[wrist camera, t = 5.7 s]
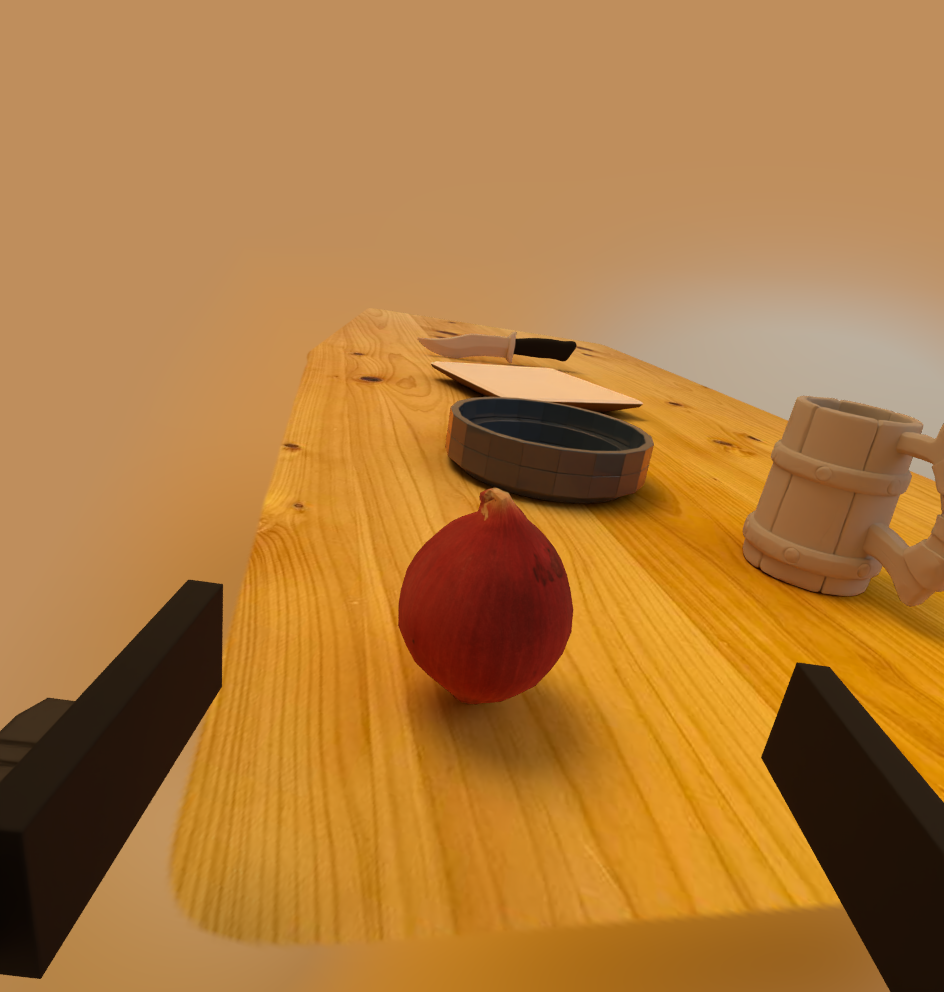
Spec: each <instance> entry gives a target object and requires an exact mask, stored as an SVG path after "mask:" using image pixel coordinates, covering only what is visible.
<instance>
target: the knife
mask: <svg viewBox="0 0 944 992" xmlns="http://www.w3.org/2000/svg"><path fill="white" fill-rule="evenodd" d="M516 334H517V332H512V333H511V334H510V335H509V337H504V336H493V335H482V334H465V335H461V336H456V337H451V338H439V339H429V338H417V339H418V340H419V342H420V343H421V344H422V345H423V346H424V347H426V348H427V349H429V350H430V351H432V352H434V353H437V354H439V355H442V356H445V357H450V358H463V357H471V356H494V357H504V358H506V360H507V361H508V362H509V363H512V357H513V354H517V355H524V356H530V357H537V358H551V359H556V360H560V361H566V360H567V359H568V358H569V357H570V355H571V354H572V352H573V351H574V350H575V348H576V343H575V342H573V341H559V340H553V339H541V338H524V339H516Z"/></svg>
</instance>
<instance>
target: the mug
mask: <svg viewBox="0 0 944 992" xmlns="http://www.w3.org/2000/svg"><path fill="white" fill-rule="evenodd" d="M922 429H923V424H922V423H921V422H920V421H919V420H917V419H915V418H912V417H909V416H907V415H904V414H900V413H895V412H893V411H889V410H885V409H881V408H877V407H873V406H869V405H865V404H861V403H856V402H851V401H845V400H841V401H838V400H837V399H834V398H820V397H811V396H800V397H798V398H797V400H796V402H795V405H794V408H793V410H792V413H791V416H790V418H789V421H788V424H787V426H786V429H785V432H784V434H783V437H782V439H781V440H779V441H778V442H776V443H775V446H774V449H773V451H772V454H771V458H772V460H773V465H772V467H771V470H770V473H769V475H768V478H767V481H766V484H765V486H764V489H763V492H762V495H761V497H760V500H759V503H758V505H757V508H756V511H753V512H752V513H750V514H749V515H748V516H747V518H746V521H745V523H744V527H743V535H744V537H745V541H744V544H743V554H744V556H745V558H746V559H747V560H748V561H749V562H750V563H751V564H752V565H753V566H755V567H757V568H761V570H762V571H764V572H765V573H767V574H769V575H771V576H773V577H775V578H777V579H780V580H782V581H784V582H787V583H789V584H792V585H795V586H797V587H800V588H803V589H806V590H810V591H813V592H818V591H819V590H820V591H821V592H822V593H823V594H830V595H839V596H854V595H858V594H860V593H862V592H864V591H865V590H866V588H867V586H868V584H869V581H870V579H871V578H872V577H874V576H876V575H878V574H879V572H880V571H881V568H882V566H883V567H884V568H885V569H886V570H887V572H888V573H889V575H890V576H891V578H892V580H893V583H894V586H895V588H896V591H897V593H898V596H899V599H900V601H901V602H903V603H904V604H905V605H907V606H910V607H912V606H916V605H919V604H922V603H923V602H924V601H925V600H926V599H927V598H929V597H930V596H931V595H932V594H933V593H934V592H941V591H944V424H943V425H942V427H941V429H940V431H939V434H938V436H937V438H936V439H934V438H932V437H929V436H927V435H922V434H921V432H922ZM913 457H916V458H919V459H922V460H924V461H927V462H930V463H932V464H933V466H932V469H933V472H934V475H935V481H936V487H937V490H938V492H939V493H940V494H941V510H942V514H941V515H937V519H936V523H935V525H934V527H933V529H932V532H931V533H932V534H931V535H930V536H929V538H928V539H924V540H922V541H921V542H919V543H918V544H916V545H914V546H911V547H909V546H908V545H907V544H906V543H905V542H904V540H903V539H902V538H901V537H900V536H899V535H898V534H897V533H896V532H894V531H893V530H892V529H890V528H889V524H890V521H891V519H892V516H893V513H894V510H895V507H896V504H897V501H898V498H899V496H900V494H903V493H904V492H905V491H906V490H907V488H908V486H909V484H910V481H911V477H912V475H911V473H910V471H909V467H910V464H911V461H912V458H913Z"/></svg>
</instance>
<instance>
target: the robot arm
mask: <svg viewBox="0 0 944 992" xmlns="http://www.w3.org/2000/svg"><path fill="white" fill-rule="evenodd" d="M222 616H223V584H217V583H209V582H202V581H195V580H188V581H187V582H186V583H185V584H184V585H183V586H182V587H181V588H180V589H179V590H178V591H177V593H176V594H175V595H174V596H173V597H172V598H171V599H170V600H169V601H168V602H167V603H166V604H165V605H164V607H163V608H162V609H161V610H160V611H159V612H158V613H157V614H156V615H155V616H154V617H153V618H152V619H151V620H150V621H149V623H148V624H147V625H146V626H145V627H144V628H143V629H142V630H141V631H140V632H139V633H138V634H137V636H135V638H134V639H133V640H132V641H131V642H130V643H129V644H128V645H127V646H126V647H125V648H124V649H123V651H122V652H121V653H120V654H119V655H118V656H117V657H116V658H115V659H114V660H113V661H112V662H111V663H110V664H109V666H108V667H107V668H106V669H105V670H104V671H103V672H102V673H101V674H100V675H99V676H98V677H97V679H95V681H94V682H93V683H92V684H91V685H90V686H89V687H88V688H87V689H86V690H85V691H84V692H83V693H82V695H81V696H80V697H79V698H78V699H77V700H76V701H69V700H60V699H54V698H47V699H45V700H43V701H41V702H40V703H38V704H36V705H34V706H33V707H31V708H29V709H27V710H25V711H24V712H22V713H20V714H18V715H17V716H15V717H14V718H13V719H12V721H10V722H9V723H8V724H7V725H6V726H5V727H4V728H3V729H2V730H1V731H0V974H3V975H12V976H20V977H29V978H37V979H41V978H42V976H43V974H44V973H45V971H46V970H47V968H48V966H49V965H50V963H51V961H52V960H53V958H54V957H55V955H56V953H57V952H58V950H59V949H60V947H61V945H62V944H63V942H64V941H65V939H66V937H67V936H68V934H69V932H70V931H71V929H72V928H73V926H74V924H75V923H76V921H77V920H78V918H79V916H80V915H81V913H82V911H83V910H84V908H85V906H86V905H87V903H88V902H89V900H90V899H91V897H92V895H93V894H94V892H95V891H96V889H97V887H98V886H99V884H100V882H101V881H102V879H103V878H104V876H105V874H106V872H107V871H108V870H109V868H110V866H111V865H112V863H113V861H114V860H115V858H116V856H117V855H118V853H119V852H120V850H121V849H122V847H123V845H124V844H125V842H126V840H127V839H128V837H129V836H130V834H131V832H132V831H133V829H134V827H135V826H136V824H137V823H138V821H139V819H140V818H141V816H142V815H143V813H144V811H145V810H146V808H147V807H148V805H149V803H150V802H151V800H152V798H153V797H154V795H155V794H156V792H157V790H158V789H159V787H160V786H161V784H162V782H163V781H164V779H165V777H166V776H167V774H168V773H169V771H170V769H171V768H172V766H173V765H174V763H175V761H176V759H177V758H178V756H179V755H180V753H181V752H182V750H183V748H184V747H185V745H186V744H187V742H188V740H189V739H190V737H191V736H192V734H193V732H194V731H195V729H196V727H197V726H198V724H199V723H200V721H201V719H202V718H203V716H204V715H205V713H206V711H207V710H208V708H209V706H210V705H211V703H212V702H213V700H214V698H215V697H216V695H217V694H218V692H219V690H220V689H221V687H222V622H223V617H222ZM761 758H762V760H763V762H764V763H765V765H766V767H767V769H768V771H769V773H770V774H771V776H772V778H773V780H774V782H775V783H776V785H777V787H778V789H779V791H780V792H781V794H782V796H783V798H784V800H785V802H786V803H787V805H788V807H789V809H790V811H791V812H792V814H793V816H794V818H795V820H796V821H797V823H798V825H799V827H800V829H801V831H802V832H803V834H804V836H805V838H806V840H807V841H808V843H809V845H810V847H811V849H812V850H813V852H814V854H815V856H816V858H817V860H818V861H819V863H820V865H821V867H822V869H823V870H824V872H825V874H826V876H827V878H828V879H829V881H830V883H831V885H832V887H833V888H834V890H835V892H836V894H837V896H838V898H839V899H840V901H841V903H842V905H843V907H844V908H845V910H846V912H847V914H848V916H849V917H850V919H851V921H852V923H853V925H854V927H855V928H856V930H857V932H858V934H859V936H860V937H861V939H862V941H863V943H864V945H865V946H866V948H867V950H868V952H869V954H870V956H871V957H872V959H873V961H874V963H875V965H876V966H877V968H878V970H879V972H880V974H881V975H882V977H883V979H884V981H885V983H886V985H887V986H888V988H889V990H890V992H944V802H943V801H942V800H941V799H940V798H939V796H938V795H937V794H936V793H935V792H934V791H933V789H932V788H931V787H930V786H929V785H928V783H927V782H926V781H925V780H924V779H923V777H922V776H921V775H920V774H919V773H918V772H917V770H916V769H915V768H914V767H913V766H912V764H911V763H910V762H909V761H908V760H907V758H906V757H905V756H904V755H903V754H902V753H901V751H900V750H899V749H898V748H897V747H896V745H895V744H894V743H893V742H892V741H891V739H890V738H889V737H888V736H887V735H886V734H885V732H884V731H883V730H882V729H881V728H880V726H879V725H878V724H877V723H876V722H875V720H874V719H873V718H872V717H871V716H870V715H869V713H868V712H867V711H866V710H865V709H864V707H863V706H862V705H861V704H860V703H859V701H858V700H857V699H856V698H855V697H854V696H853V694H852V693H851V692H850V691H849V690H848V688H847V687H846V686H845V685H844V684H843V682H842V681H841V680H840V679H839V678H838V677H837V675H836V674H835V673H834V672H833V671H832V669H831V668H830V667H827V666H819V665H812V664H805V663H796V666H795V669H794V671H793V674H792V677H791V679H790V682H789V685H788V687H787V690H786V693H785V695H784V698H783V701H782V703H781V706H780V709H779V711H778V714H777V717H776V719H775V722H774V725H773V727H772V730H771V733H770V735H769V738H768V741H767V743H766V746H765V749H764V751H763V754H762V757H761Z"/></svg>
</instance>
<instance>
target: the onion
mask: <svg viewBox="0 0 944 992" xmlns="http://www.w3.org/2000/svg"><path fill="white" fill-rule="evenodd" d="M480 500H481V503H480V507H479V510H478V512H475V513H472V514H468V515H465V516H462V517H460V518H458V519H456V520H454V521H452V522H450V523H449V524H448V525H446V526H445V527H443V528H442V529H441V530H440V531H439V532H438V533H436V534H435V535H434V536H433V537H432V538H431V539H430V540H429V541H427V542H426V543H425V544H424V546H423V547H422V548H421V549H420V550H419V551H418V553H417V554H416V555H415V557H414V558H413V560H412V562H411V563H410V565H409V567H408V568H407V571H406V575H405V578H404V581H403V585H402V588H401V593H400V599H399V623H398V626H399V628H400V631H401V633H402V636H403V638H404V641H405V643H406V646H407V648H408V650H409V651H410V653H411V655H412V657H413V659H414V661H415V662H416V663H417V664H418V665H419V666H420V667H421V668H422V669H423V670H424V671H425V672H426V673H427V674H428V675H429V676H430V677H432V678H433V679H434V680H435V681H436V682H438V683H439V684H440V685H441V686H442V687H444V688H445V689H446V690H447V691H449V692H450V693H451V694H452V695H453V696H454V697H455V698H456V699H458V700H459V701H460V702H463V703H466V704H479V703H492V702H501V701H504V700H506V699H508V698H511V697H513V696H516V695H518V694H520V693H522V692H524V691H526V690H528V689H530V688H532V687H534V686H536V685H537V684H538V682H539V681H540V680H541V679H542V678H543V677H544V676H545V675H546V674H547V673H548V672H549V671H550V670H551V669H552V667H553V666H554V665H555V663H556V662H557V661H558V659H559V658H560V657H561V655H562V654H563V651H564V649H565V646H566V644H567V641H568V639H569V636H570V634H571V629H572V617H573V605H572V598H571V591H570V587H569V582H568V578H567V574H566V571H565V568H564V566H563V563H562V560H561V558H560V557H559V555H558V553H557V551H556V550H555V548H554V547H553V545H552V544H551V543H550V541H549V540H548V539H547V538H546V536H545V535H544V534H543V533H542V532H541V531H540V530H539V529H538V528H537V527H536V526H535V525H534V524H532V523H531V522H530V521H529V520H528V519H527V518H526V516H525V515H524V513H523V512H522V511H521V510H520V509H519V508H518V506H517V505H516V504H515V503H514V501H513V500H512V498H511V496H510V495H509V493H508V492H504V491H502V490H500V489H498V488H492V489H487V490H485V491H483V492H481V493H480Z"/></svg>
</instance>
